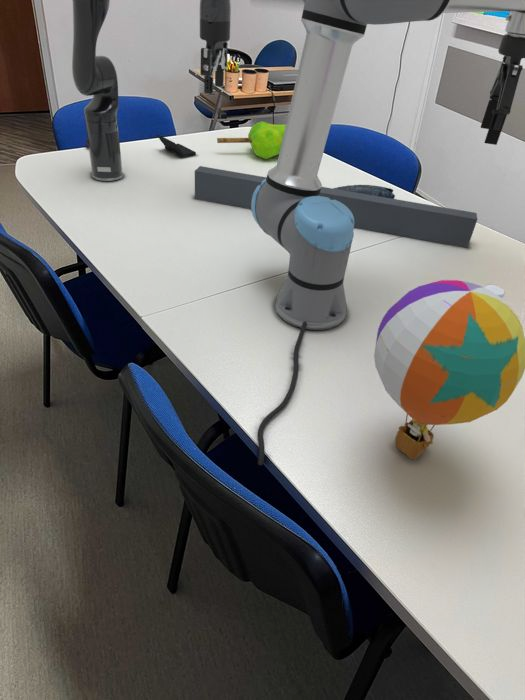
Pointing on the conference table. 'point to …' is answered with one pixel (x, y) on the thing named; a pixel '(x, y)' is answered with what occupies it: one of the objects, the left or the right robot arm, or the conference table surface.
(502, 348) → the toy
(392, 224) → the bar
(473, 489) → the conference table surface
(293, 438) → the conference table surface
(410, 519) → the conference table surface
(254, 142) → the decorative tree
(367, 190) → the fish model
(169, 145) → the handheld gaming console
